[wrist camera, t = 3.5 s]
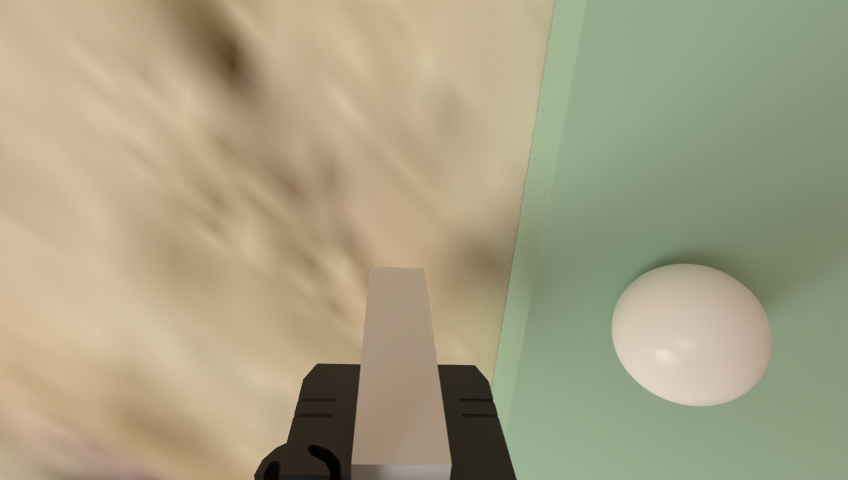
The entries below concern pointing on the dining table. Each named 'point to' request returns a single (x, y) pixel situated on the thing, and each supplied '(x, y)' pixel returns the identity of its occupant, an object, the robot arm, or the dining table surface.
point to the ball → (692, 334)
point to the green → (682, 235)
